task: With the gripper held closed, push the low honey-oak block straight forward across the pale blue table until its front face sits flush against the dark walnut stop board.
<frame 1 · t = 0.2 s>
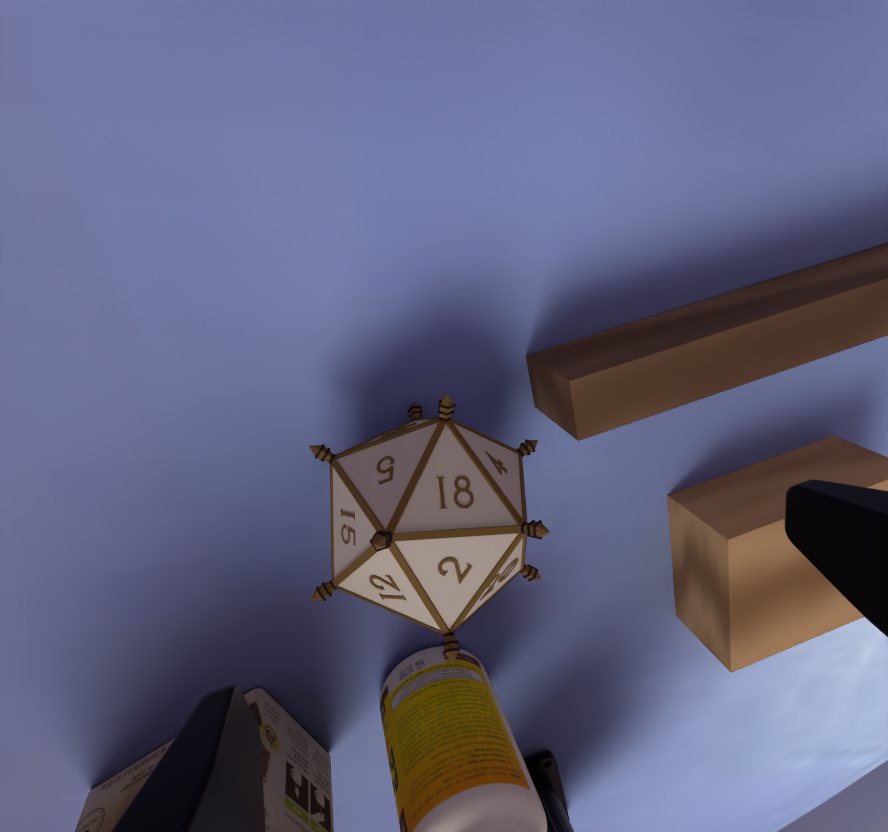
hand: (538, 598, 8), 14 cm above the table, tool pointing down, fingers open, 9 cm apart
oak block: (748, 525, 30), on the table
coffee box: (215, 766, 26), on the table
game die: (409, 467, 23), on the table
walnut board: (750, 311, 25), on the table
supplement bottle: (431, 681, 28), on the table
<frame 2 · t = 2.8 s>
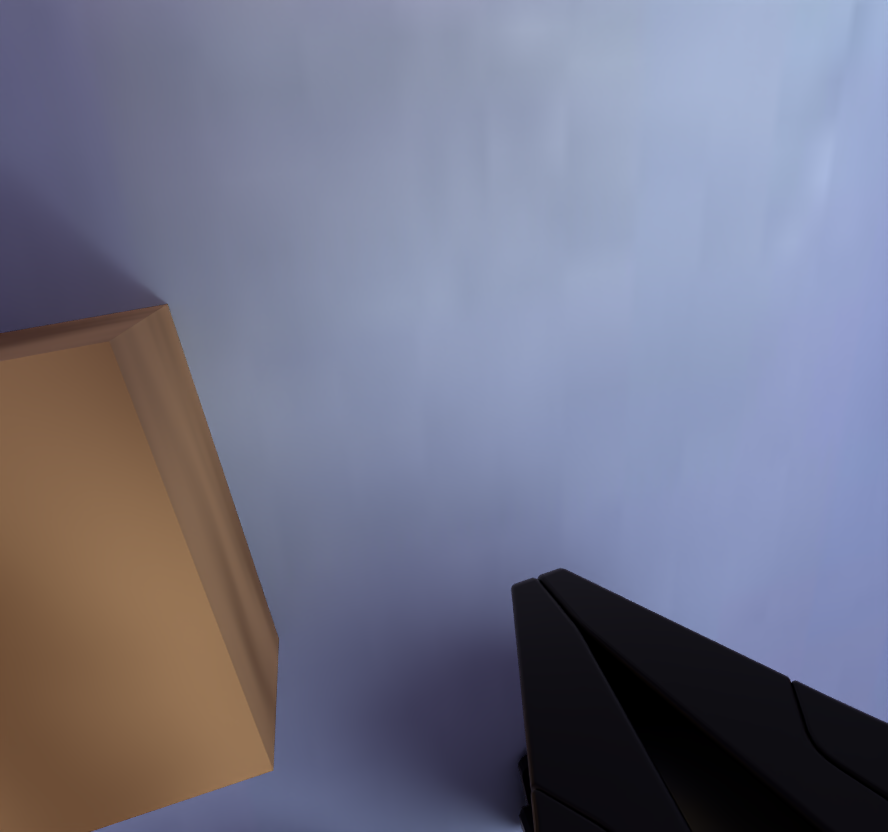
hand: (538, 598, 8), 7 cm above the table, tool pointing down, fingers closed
oak block: (69, 527, 14), on the table
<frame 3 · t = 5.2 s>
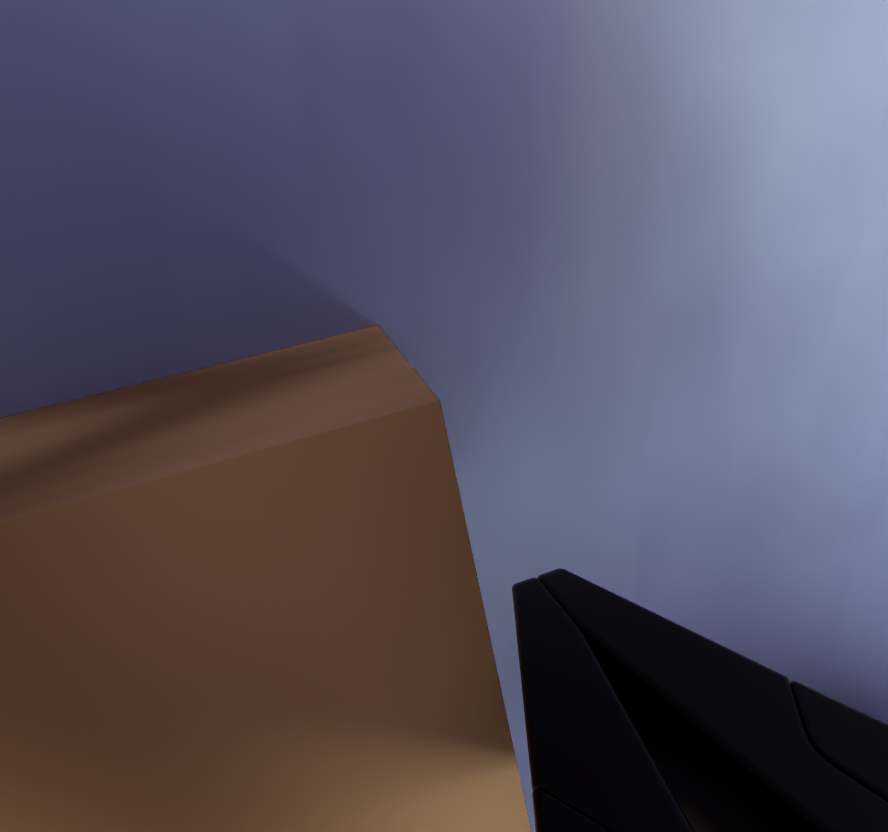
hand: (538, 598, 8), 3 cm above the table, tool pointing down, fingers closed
oak block: (236, 624, 10), on the table, touching gripper
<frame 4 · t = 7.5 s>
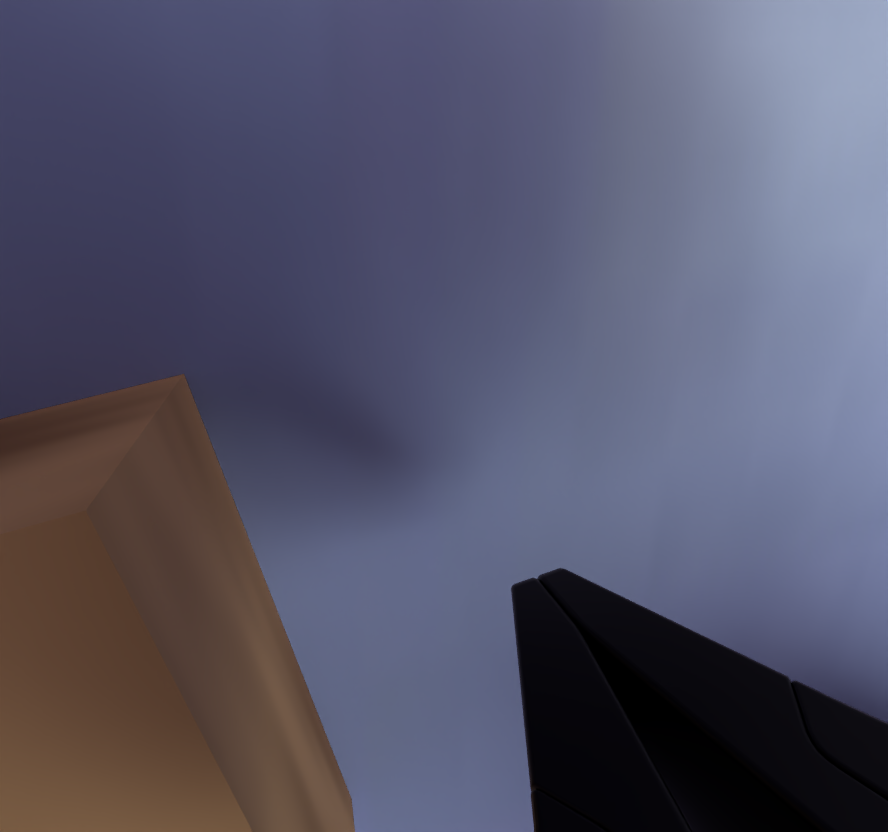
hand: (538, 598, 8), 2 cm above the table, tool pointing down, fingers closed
oak block: (58, 690, 10), on the table
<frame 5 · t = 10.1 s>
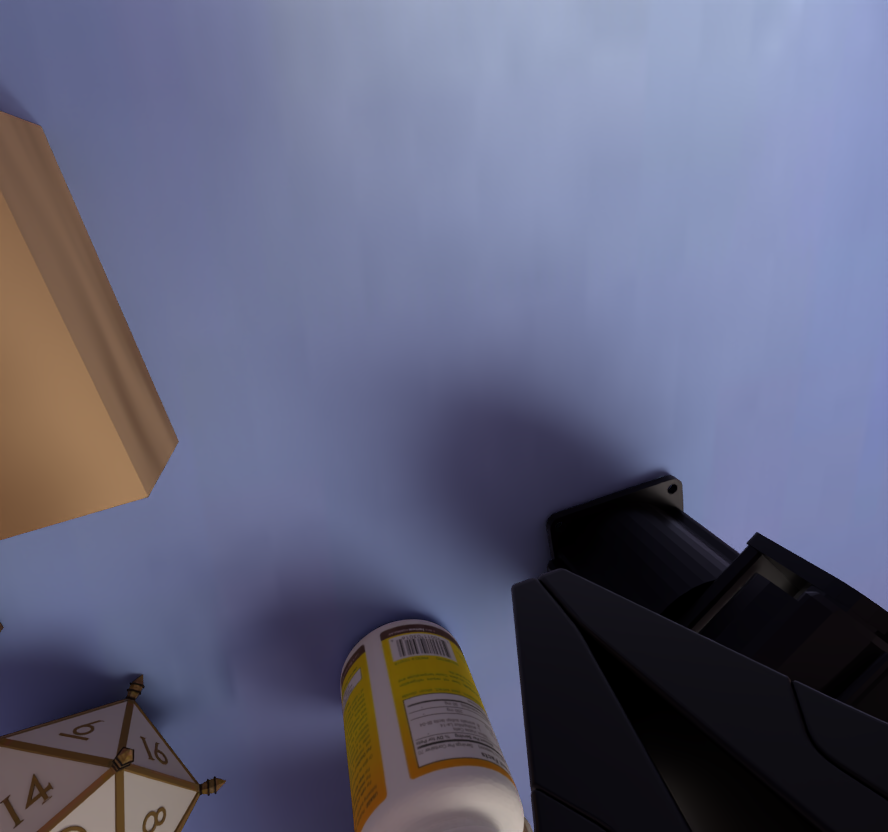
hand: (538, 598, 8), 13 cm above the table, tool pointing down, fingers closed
game die: (107, 726, 22), on the table
supplement bottle: (400, 660, 25), on the table
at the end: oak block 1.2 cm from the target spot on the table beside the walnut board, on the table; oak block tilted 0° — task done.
